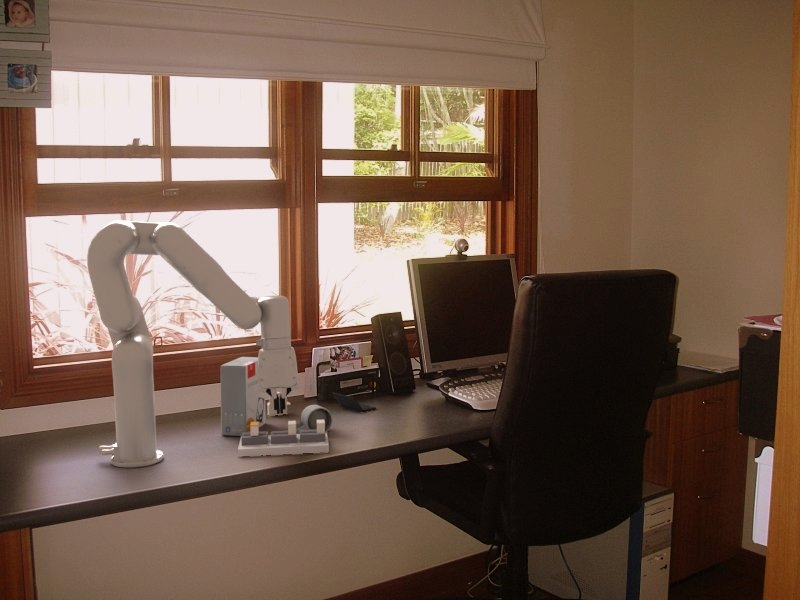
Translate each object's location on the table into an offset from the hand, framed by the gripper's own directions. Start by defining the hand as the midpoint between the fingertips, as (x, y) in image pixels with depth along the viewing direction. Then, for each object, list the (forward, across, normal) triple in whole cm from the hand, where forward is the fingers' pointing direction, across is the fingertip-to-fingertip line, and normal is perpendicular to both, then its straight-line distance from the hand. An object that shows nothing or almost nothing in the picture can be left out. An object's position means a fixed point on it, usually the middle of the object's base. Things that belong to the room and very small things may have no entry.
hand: (280, 412), depth 213 cm
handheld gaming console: (+11, +22, +40) cm, 47 cm away
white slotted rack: (+10, +1, 0) cm, 10 cm away
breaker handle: (+5, -7, 0) cm, 9 cm away
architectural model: (+10, -2, +37) cm, 38 cm away
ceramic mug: (+10, +8, +15) cm, 20 cm away
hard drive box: (+10, -11, +21) cm, 25 cm away
